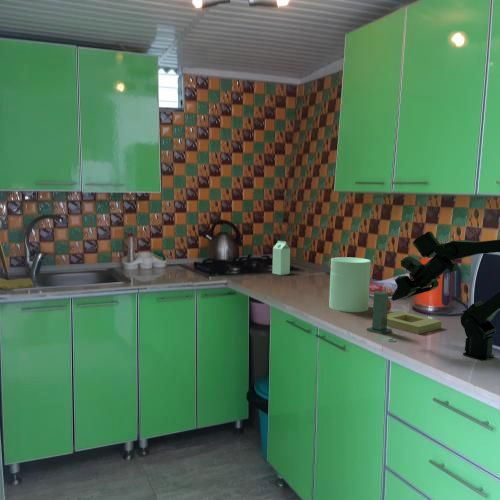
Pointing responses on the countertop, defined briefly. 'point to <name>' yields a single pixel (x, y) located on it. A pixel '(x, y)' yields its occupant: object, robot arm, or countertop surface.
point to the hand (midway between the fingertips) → (399, 297)
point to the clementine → (388, 305)
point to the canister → (349, 284)
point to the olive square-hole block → (412, 322)
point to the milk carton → (281, 258)
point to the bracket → (380, 313)
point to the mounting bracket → (385, 338)
